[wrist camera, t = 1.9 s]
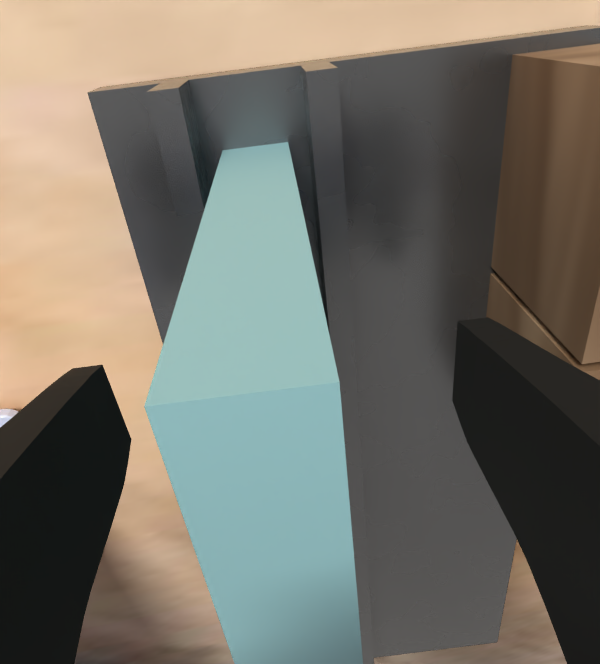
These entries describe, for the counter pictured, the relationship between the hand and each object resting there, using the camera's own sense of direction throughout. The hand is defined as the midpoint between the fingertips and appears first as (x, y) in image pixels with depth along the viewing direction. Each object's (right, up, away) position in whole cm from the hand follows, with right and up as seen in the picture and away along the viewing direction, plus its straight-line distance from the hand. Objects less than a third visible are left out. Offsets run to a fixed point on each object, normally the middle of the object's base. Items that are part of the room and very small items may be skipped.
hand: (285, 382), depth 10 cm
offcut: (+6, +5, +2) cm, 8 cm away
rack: (+3, -3, +8) cm, 9 cm away
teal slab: (0, +2, +3) cm, 4 cm away
